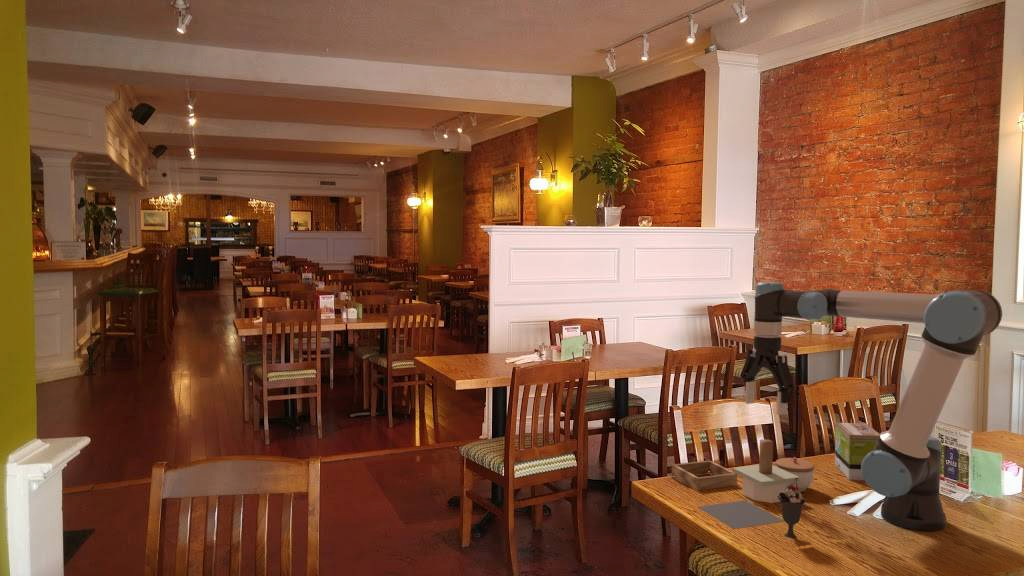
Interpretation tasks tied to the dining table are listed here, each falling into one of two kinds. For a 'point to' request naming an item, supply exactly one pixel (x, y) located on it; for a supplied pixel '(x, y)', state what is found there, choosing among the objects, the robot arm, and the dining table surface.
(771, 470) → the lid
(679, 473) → the tray
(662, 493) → the dining table surface
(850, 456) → the tea box
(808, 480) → the lidded jar
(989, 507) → the dining table surface
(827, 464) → the dining table surface
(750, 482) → the bowl
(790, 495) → the sundae
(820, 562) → the dining table surface
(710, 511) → the mat
